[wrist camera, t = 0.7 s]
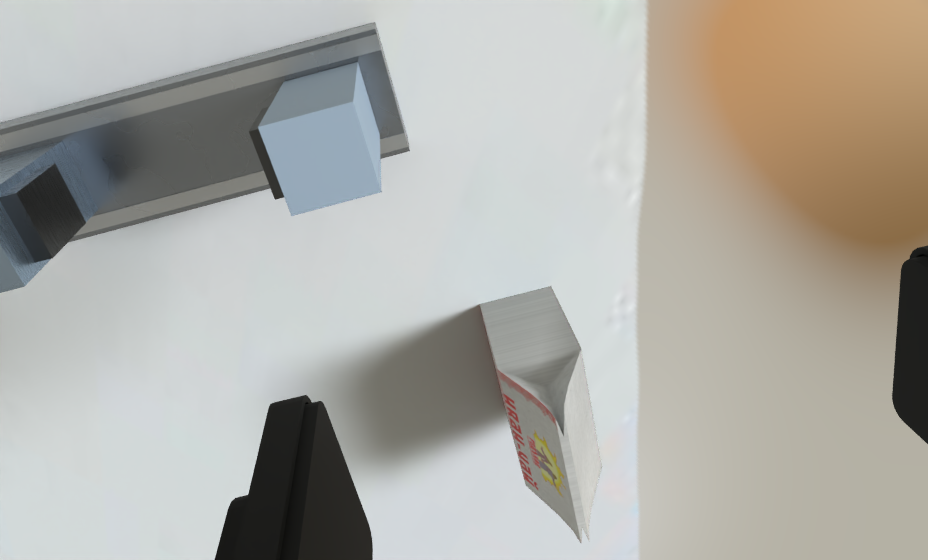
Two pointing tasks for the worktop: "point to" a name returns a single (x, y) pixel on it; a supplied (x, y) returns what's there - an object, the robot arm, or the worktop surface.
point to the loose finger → (320, 140)
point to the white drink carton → (546, 401)
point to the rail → (160, 147)
